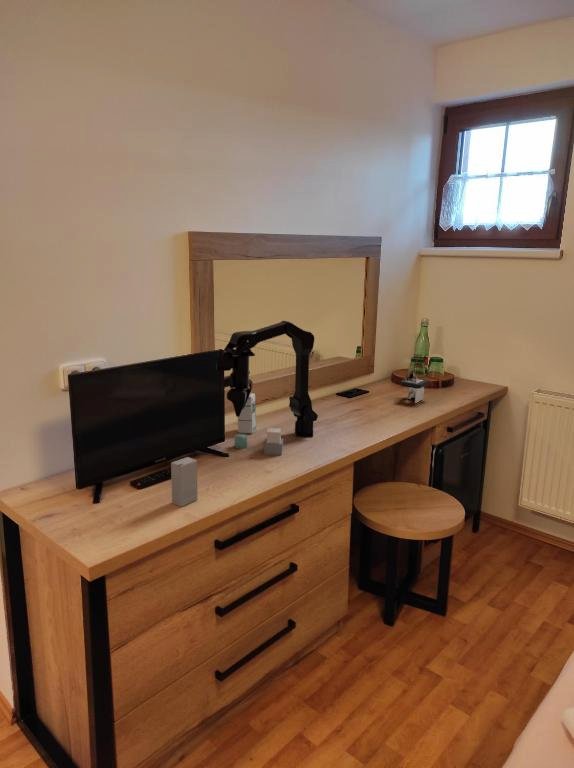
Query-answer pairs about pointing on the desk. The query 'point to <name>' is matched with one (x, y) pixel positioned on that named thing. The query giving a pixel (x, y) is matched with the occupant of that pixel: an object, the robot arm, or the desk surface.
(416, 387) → the black-topped pedestal
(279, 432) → the top block
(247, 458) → the desk surface
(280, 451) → the base block
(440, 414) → the desk surface
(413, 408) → the desk surface
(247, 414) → the syrup box
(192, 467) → the skincare box
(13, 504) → the desk surface
